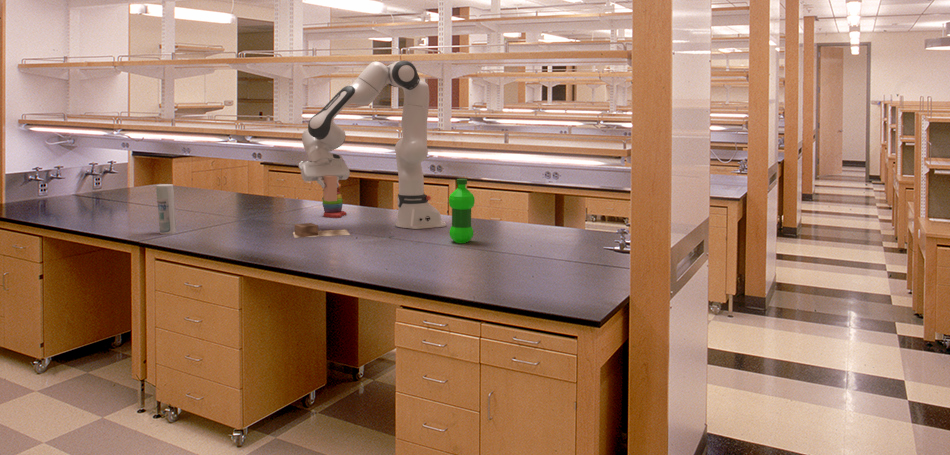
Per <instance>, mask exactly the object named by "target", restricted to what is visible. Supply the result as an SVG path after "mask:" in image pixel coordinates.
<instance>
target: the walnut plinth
mask: <svg viewBox="0 0 950 455" xmlns="http://www.w3.org/2000/svg"><path fill="white" fill-rule="evenodd" d="M318 231H319V225H318V224H316V223H313V222H307V223H306V222H305V223H295V224H294V232H295V234H296V235H298V236H301V237H300V238H307V237H306V236H315V235H318Z"/></svg>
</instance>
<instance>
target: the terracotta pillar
mask: <svg viewBox="0 0 950 455" xmlns="http://www.w3.org/2000/svg"><path fill="white" fill-rule="evenodd" d="M323 182H324V183H326V185H327V187H326V188H323V196H324V200H325V201H337V176H324V181H323Z"/></svg>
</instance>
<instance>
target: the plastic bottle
mask: <svg viewBox="0 0 950 455" xmlns="http://www.w3.org/2000/svg"><path fill="white" fill-rule="evenodd" d="M467 184H468V178H457V179H456V185H457V188H456V189H455V190H454V191H453V192H452V193H450V194H449V196H448V205H449V207H450V208H451V226H450V229H449V238H451V240H453V241H454V243H457V244H466V242H467V243H468V242H470V241H471V240H472V238H473V236H474V228H473V227H472V209H473V207H474V206H475V200H476V199H475V195H474V194H473V193H472V192H471V191H470V190H469V189H468V188H467Z"/></svg>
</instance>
